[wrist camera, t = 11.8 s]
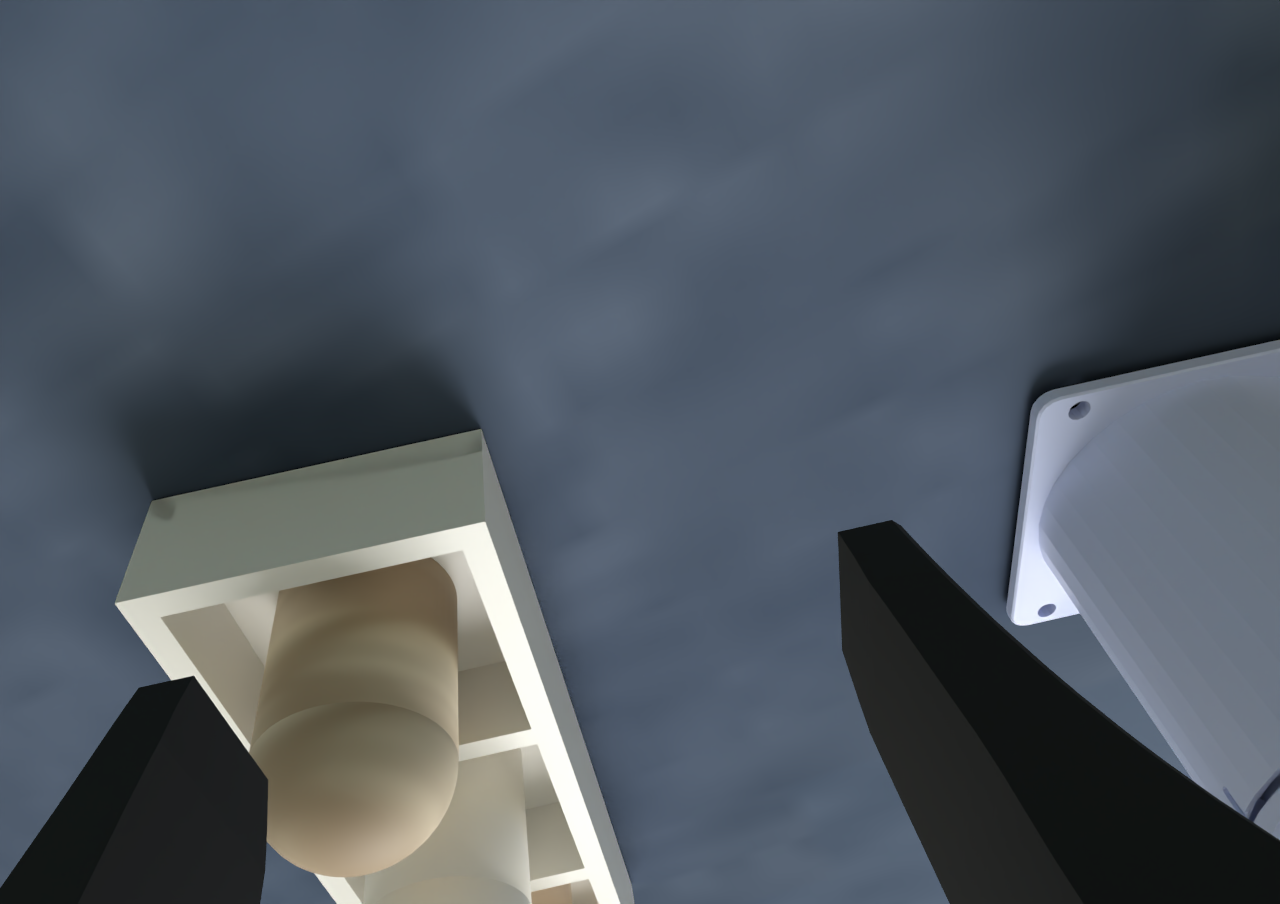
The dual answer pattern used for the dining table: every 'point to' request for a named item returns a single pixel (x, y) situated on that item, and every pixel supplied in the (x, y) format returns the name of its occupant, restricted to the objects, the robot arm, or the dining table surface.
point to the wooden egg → (360, 717)
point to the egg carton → (487, 655)
